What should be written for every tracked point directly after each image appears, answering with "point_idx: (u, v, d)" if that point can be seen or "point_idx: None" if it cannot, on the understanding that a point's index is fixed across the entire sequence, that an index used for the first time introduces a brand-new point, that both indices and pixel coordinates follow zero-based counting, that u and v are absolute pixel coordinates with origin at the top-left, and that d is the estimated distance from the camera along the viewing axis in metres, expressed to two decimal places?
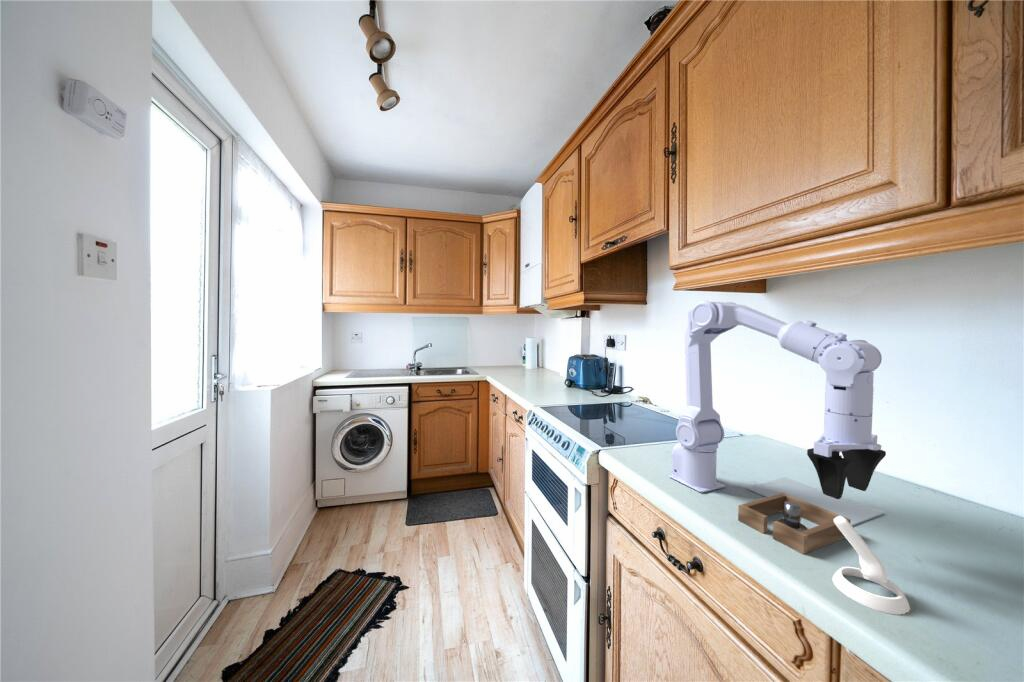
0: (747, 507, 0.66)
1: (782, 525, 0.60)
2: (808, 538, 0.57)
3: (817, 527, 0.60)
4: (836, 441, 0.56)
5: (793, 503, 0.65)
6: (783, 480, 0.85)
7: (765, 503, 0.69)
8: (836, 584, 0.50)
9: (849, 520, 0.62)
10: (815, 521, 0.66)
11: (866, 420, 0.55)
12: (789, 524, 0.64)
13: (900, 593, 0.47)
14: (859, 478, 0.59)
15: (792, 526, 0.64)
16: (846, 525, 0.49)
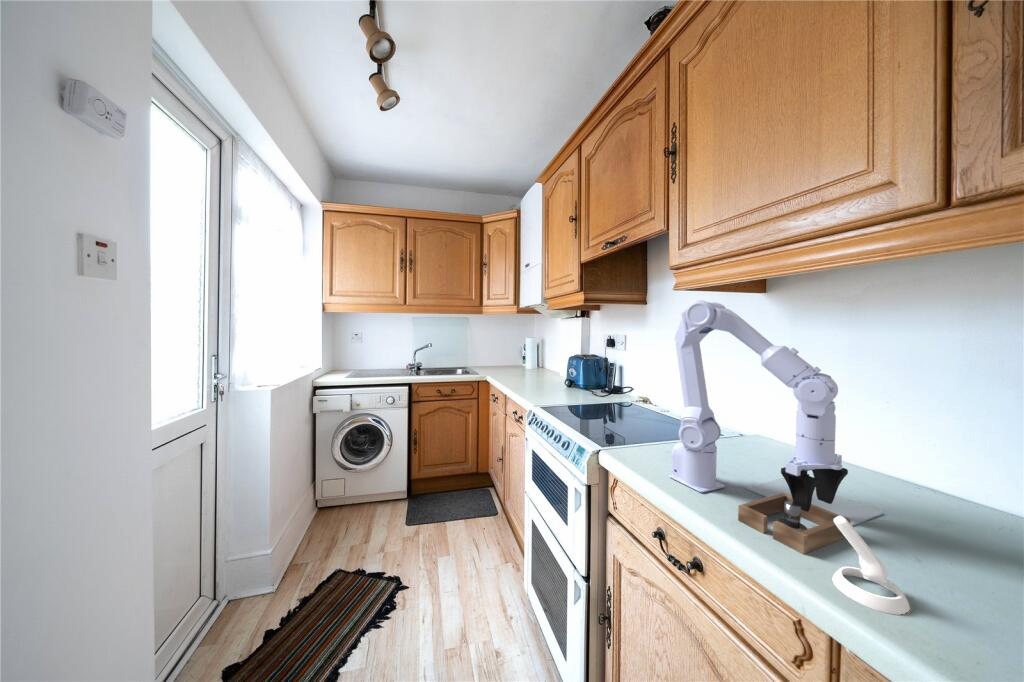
0: (747, 507, 0.66)
1: (782, 525, 0.60)
2: (808, 538, 0.57)
3: (817, 527, 0.60)
4: (805, 461, 0.65)
5: (793, 503, 0.65)
6: (783, 480, 0.85)
7: (765, 503, 0.69)
8: (836, 584, 0.50)
9: (849, 520, 0.62)
10: (815, 521, 0.66)
11: (829, 444, 0.64)
12: (789, 524, 0.64)
13: (900, 593, 0.47)
14: (826, 492, 0.68)
15: (792, 526, 0.64)
16: (846, 525, 0.49)
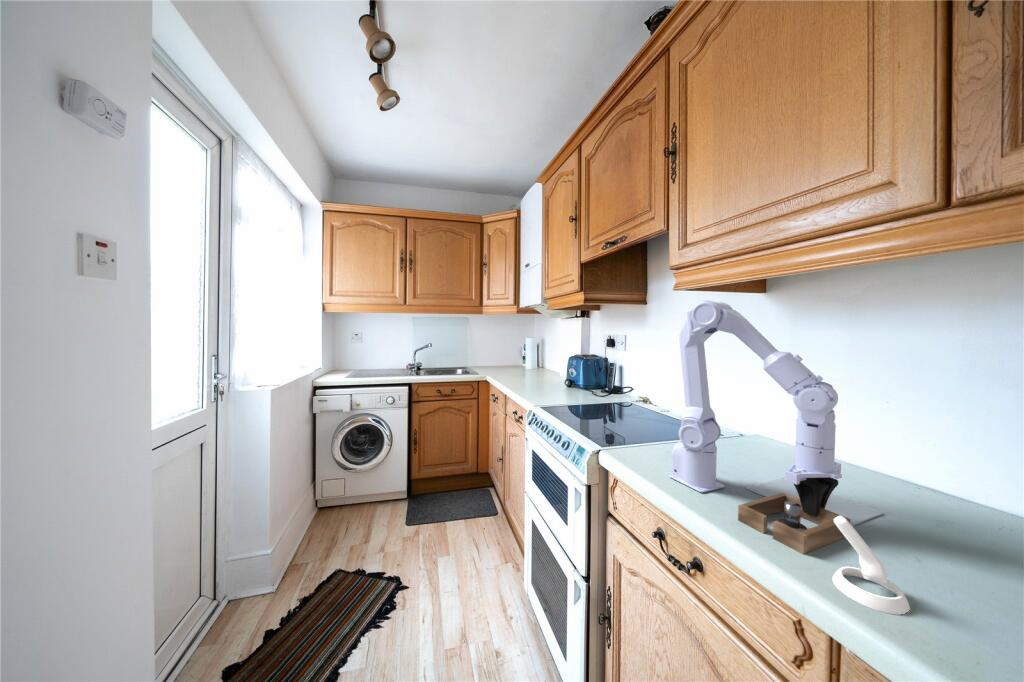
0: (747, 507, 0.66)
1: (781, 525, 0.60)
2: (807, 538, 0.57)
3: (817, 527, 0.60)
4: (804, 470, 0.66)
5: (793, 503, 0.65)
6: (783, 480, 0.85)
7: (765, 503, 0.69)
8: (836, 584, 0.50)
9: (849, 520, 0.62)
10: (815, 521, 0.66)
11: (829, 452, 0.64)
12: (789, 524, 0.64)
13: (900, 593, 0.47)
14: None
15: (792, 526, 0.64)
16: (846, 525, 0.49)
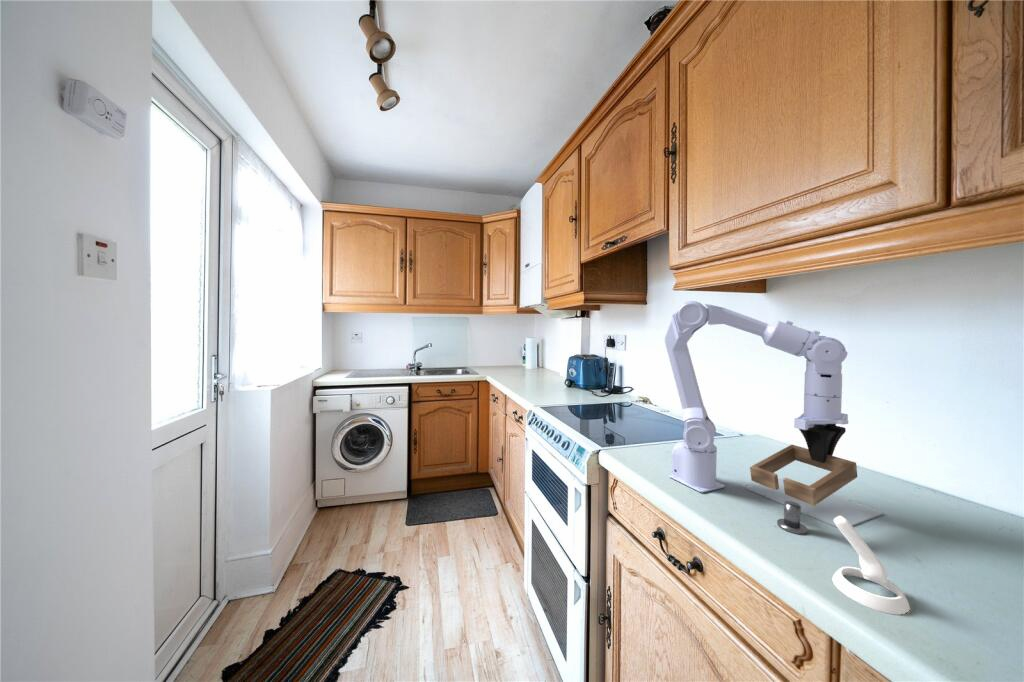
0: (758, 468, 0.70)
1: (791, 482, 0.64)
2: (816, 491, 0.61)
3: (825, 477, 0.64)
4: (812, 418, 0.69)
5: (793, 503, 0.65)
6: None
7: (775, 459, 0.73)
8: (836, 584, 0.50)
9: (855, 463, 0.66)
10: (824, 468, 0.70)
11: (836, 400, 0.68)
12: (789, 524, 0.64)
13: (900, 593, 0.47)
14: None
15: (792, 526, 0.64)
16: (846, 525, 0.49)
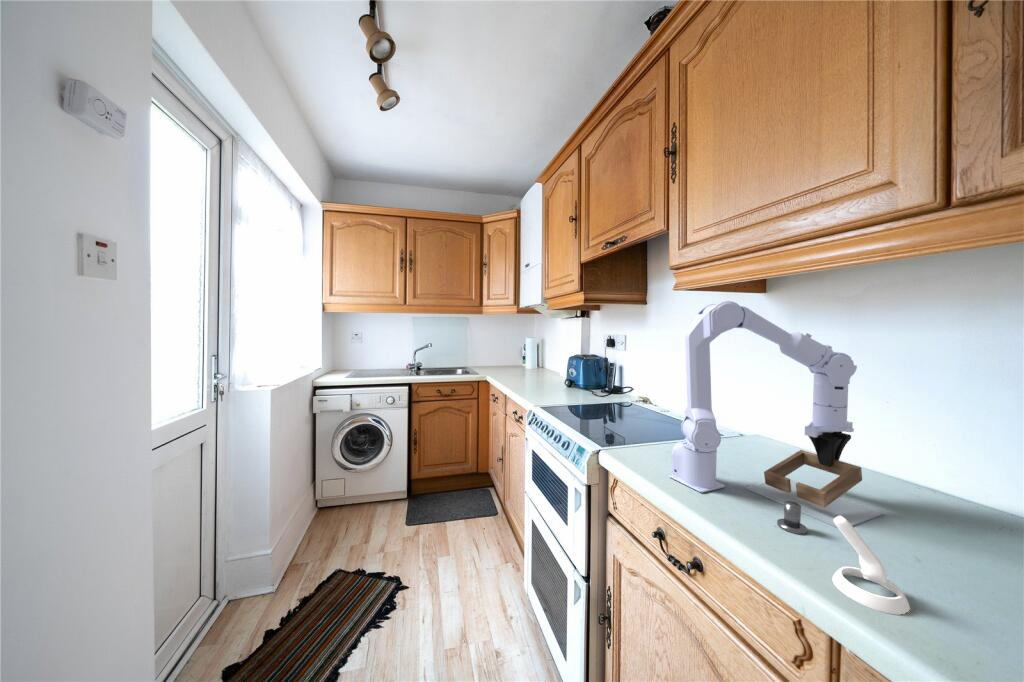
0: (771, 472, 0.77)
1: (803, 486, 0.71)
2: (826, 494, 0.68)
3: (833, 481, 0.70)
4: (821, 426, 0.76)
5: (793, 503, 0.65)
6: None
7: (787, 464, 0.79)
8: (836, 584, 0.50)
9: (860, 468, 0.72)
10: (831, 471, 0.77)
11: (843, 410, 0.74)
12: (789, 524, 0.64)
13: (900, 593, 0.47)
14: None
15: (792, 526, 0.64)
16: (846, 525, 0.49)
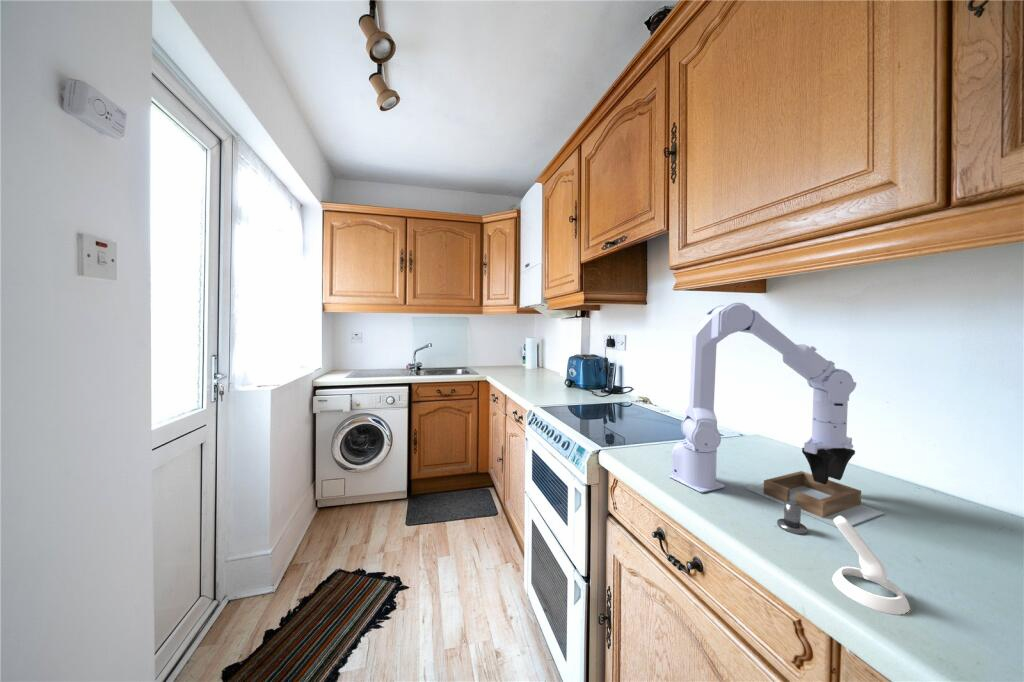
0: (771, 481, 0.77)
1: (803, 495, 0.71)
2: (826, 504, 0.68)
3: (834, 496, 0.70)
4: (820, 442, 0.76)
5: (793, 503, 0.65)
6: None
7: (787, 479, 0.79)
8: (836, 584, 0.50)
9: (860, 491, 0.73)
10: (830, 494, 0.77)
11: (842, 427, 0.74)
12: (789, 524, 0.64)
13: (900, 593, 0.47)
14: (836, 470, 0.78)
15: (792, 526, 0.64)
16: (846, 525, 0.49)
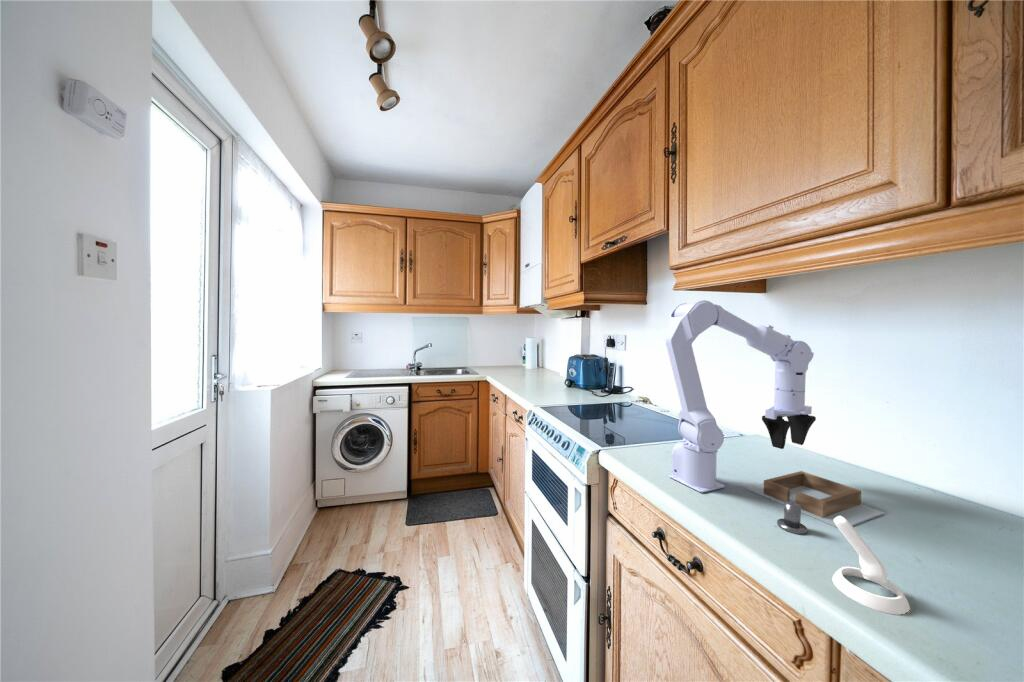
0: (771, 481, 0.77)
1: (803, 495, 0.71)
2: (826, 504, 0.68)
3: (834, 496, 0.70)
4: (781, 409, 0.81)
5: (793, 503, 0.65)
6: None
7: (787, 479, 0.79)
8: (836, 584, 0.50)
9: (860, 491, 0.73)
10: (830, 494, 0.77)
11: (800, 394, 0.80)
12: (789, 524, 0.64)
13: (900, 593, 0.47)
14: (798, 436, 0.84)
15: (792, 526, 0.64)
16: (846, 525, 0.49)
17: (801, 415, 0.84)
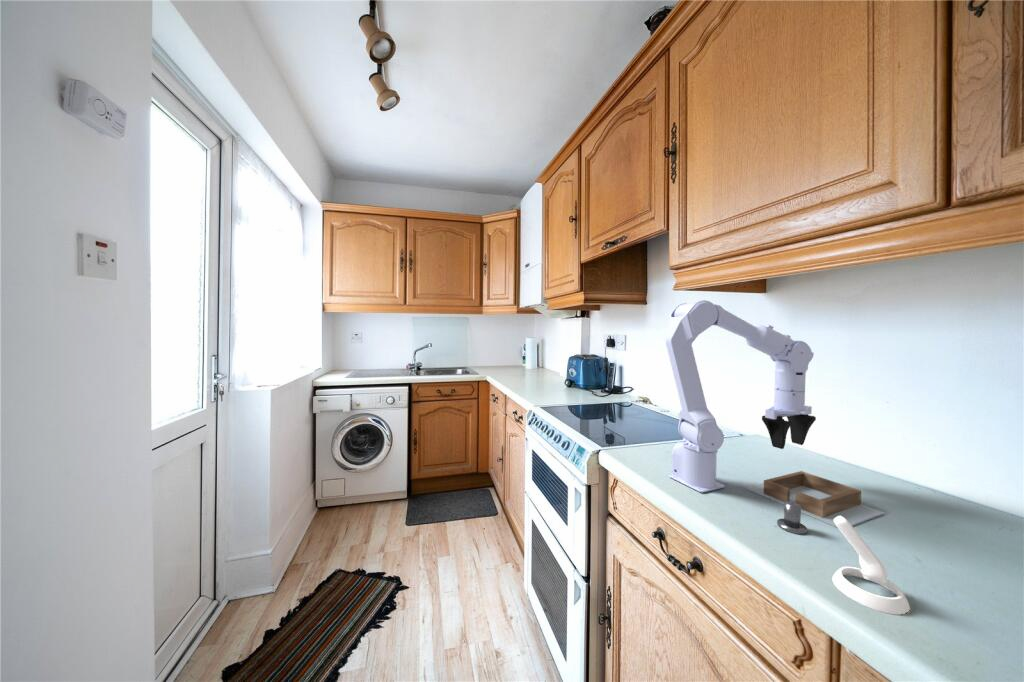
0: (771, 481, 0.77)
1: (803, 495, 0.71)
2: (826, 504, 0.68)
3: (834, 496, 0.70)
4: (781, 409, 0.81)
5: (793, 503, 0.65)
6: None
7: (787, 479, 0.79)
8: (836, 584, 0.50)
9: (860, 491, 0.73)
10: (830, 494, 0.77)
11: (800, 394, 0.80)
12: (789, 524, 0.64)
13: (900, 593, 0.47)
14: (798, 436, 0.84)
15: (792, 526, 0.64)
16: (846, 525, 0.49)
17: (801, 415, 0.84)
